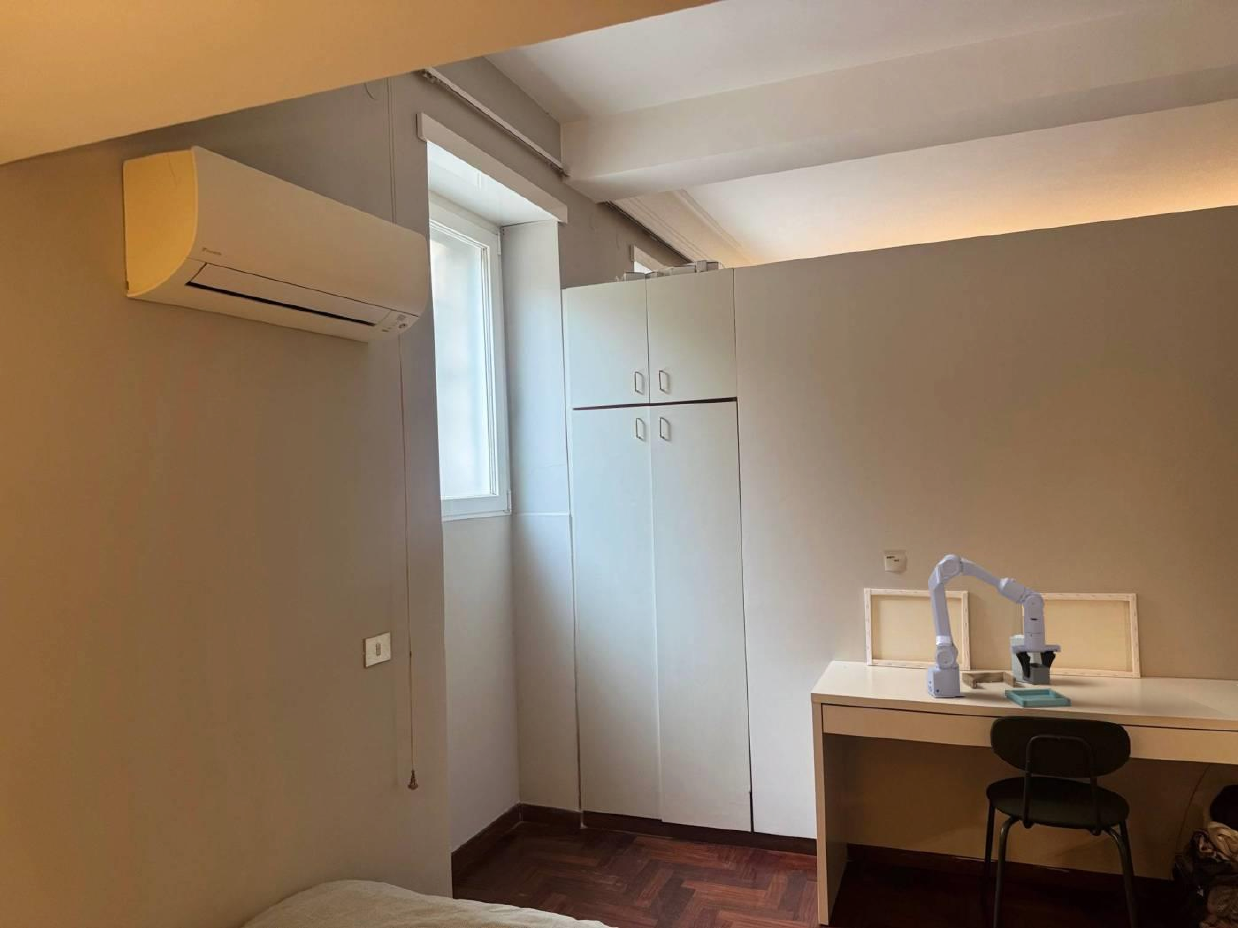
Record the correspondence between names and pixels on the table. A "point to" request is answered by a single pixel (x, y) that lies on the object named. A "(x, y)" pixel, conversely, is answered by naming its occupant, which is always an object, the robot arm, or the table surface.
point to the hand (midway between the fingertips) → (1036, 676)
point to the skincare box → (1016, 664)
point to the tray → (1037, 697)
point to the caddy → (1038, 674)
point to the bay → (987, 678)
